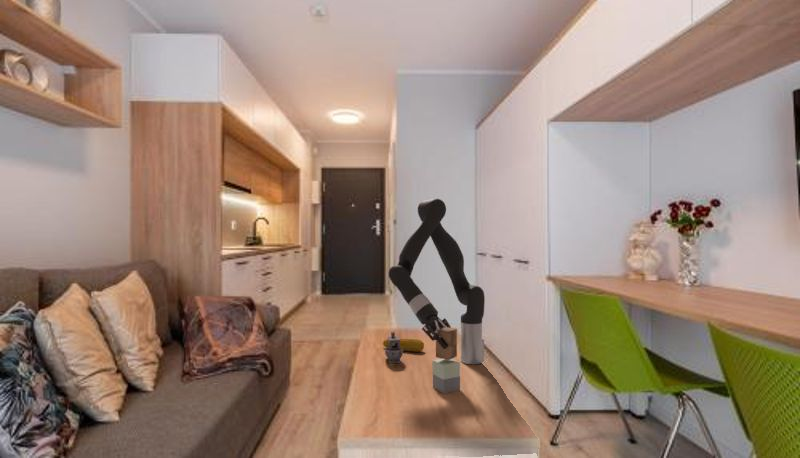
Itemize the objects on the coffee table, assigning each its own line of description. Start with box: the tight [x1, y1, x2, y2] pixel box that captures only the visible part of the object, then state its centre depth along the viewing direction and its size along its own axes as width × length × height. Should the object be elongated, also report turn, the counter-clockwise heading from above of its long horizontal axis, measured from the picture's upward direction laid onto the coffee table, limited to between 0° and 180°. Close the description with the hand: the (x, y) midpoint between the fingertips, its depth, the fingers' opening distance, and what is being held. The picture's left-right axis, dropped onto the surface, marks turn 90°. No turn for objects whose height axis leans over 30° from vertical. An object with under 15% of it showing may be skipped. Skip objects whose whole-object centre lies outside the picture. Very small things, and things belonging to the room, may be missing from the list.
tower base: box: [432, 374, 461, 394], centre depth 155 cm, size 7×7×5 cm
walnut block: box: [435, 327, 458, 360], centre depth 155 cm, size 6×6×10 cm
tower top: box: [431, 358, 461, 380], centre depth 155 cm, size 7×7×5 cm
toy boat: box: [384, 330, 404, 364], centre depth 187 cm, size 15×8×13 cm, turn 12°
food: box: [382, 338, 425, 353], centre depth 206 cm, size 21×6×6 cm, turn 67°
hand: (450, 345), depth 154 cm, fingers closed on walnut block, 5 cm apart
